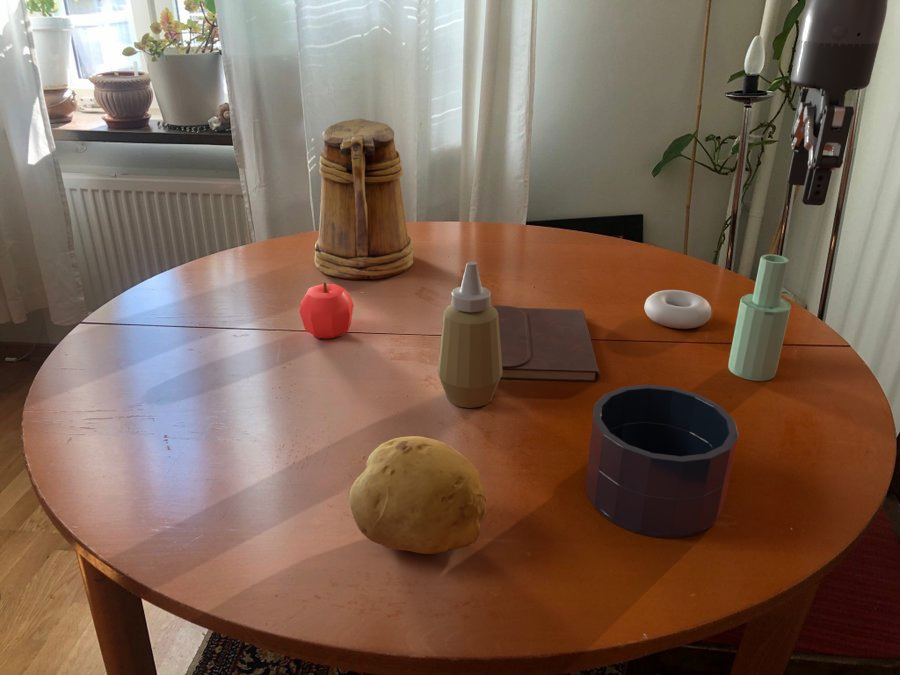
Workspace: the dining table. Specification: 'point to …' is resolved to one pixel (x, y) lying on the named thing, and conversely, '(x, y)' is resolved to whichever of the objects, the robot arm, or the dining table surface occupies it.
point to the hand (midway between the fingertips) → (804, 193)
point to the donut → (677, 309)
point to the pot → (660, 460)
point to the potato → (418, 497)
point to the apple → (326, 310)
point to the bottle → (761, 323)
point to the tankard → (361, 203)
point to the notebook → (546, 345)
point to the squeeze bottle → (470, 344)
